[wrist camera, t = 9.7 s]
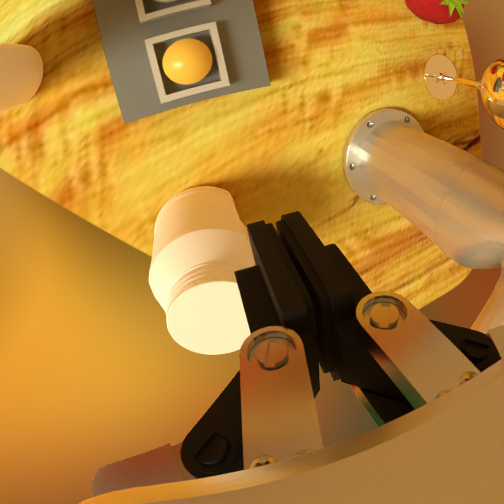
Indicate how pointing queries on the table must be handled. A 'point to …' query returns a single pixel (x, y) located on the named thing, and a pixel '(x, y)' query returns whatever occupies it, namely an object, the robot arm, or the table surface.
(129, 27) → the button panel
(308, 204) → the table surface
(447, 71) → the wineglass
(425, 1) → the strawberry
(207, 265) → the jar
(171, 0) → the sage button
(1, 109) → the cylindrical container
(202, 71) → the amber button
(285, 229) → the robot arm
